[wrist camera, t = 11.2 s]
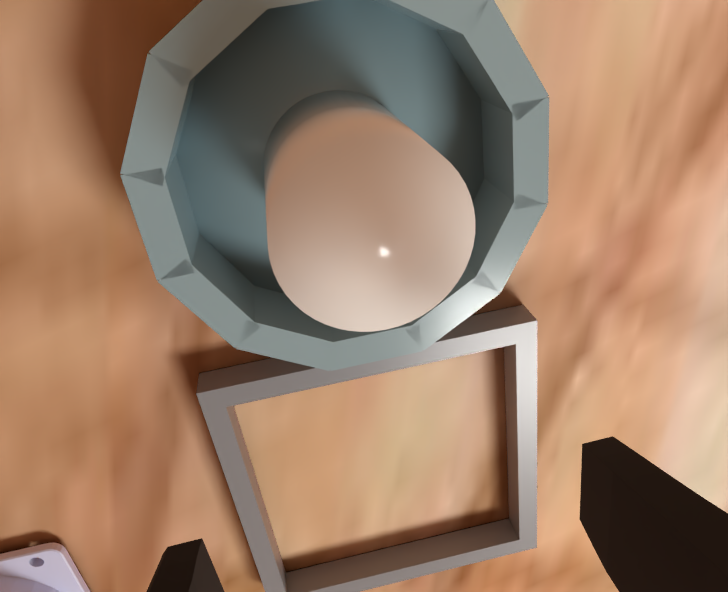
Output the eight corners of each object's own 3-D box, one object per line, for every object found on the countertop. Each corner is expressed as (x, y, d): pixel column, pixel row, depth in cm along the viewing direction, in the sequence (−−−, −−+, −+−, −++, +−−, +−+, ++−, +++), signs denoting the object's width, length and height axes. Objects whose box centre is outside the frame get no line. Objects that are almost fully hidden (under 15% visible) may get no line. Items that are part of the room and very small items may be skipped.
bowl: (205, 346, 20) (198, 399, 17) (90, -10, 15) (54, -11, 12) (509, 283, 21) (546, 324, 18) (501, -73, 16) (550, -88, 13)
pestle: (280, 248, 18) (291, 349, 13) (248, 104, 16) (244, 156, 11) (416, 221, 19) (479, 309, 13) (401, 77, 17) (470, 115, 11)
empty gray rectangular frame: (271, 588, 26) (272, 612, 25) (199, 373, 20) (196, 393, 19) (525, 526, 27) (536, 547, 26) (523, 304, 21) (537, 320, 20)
